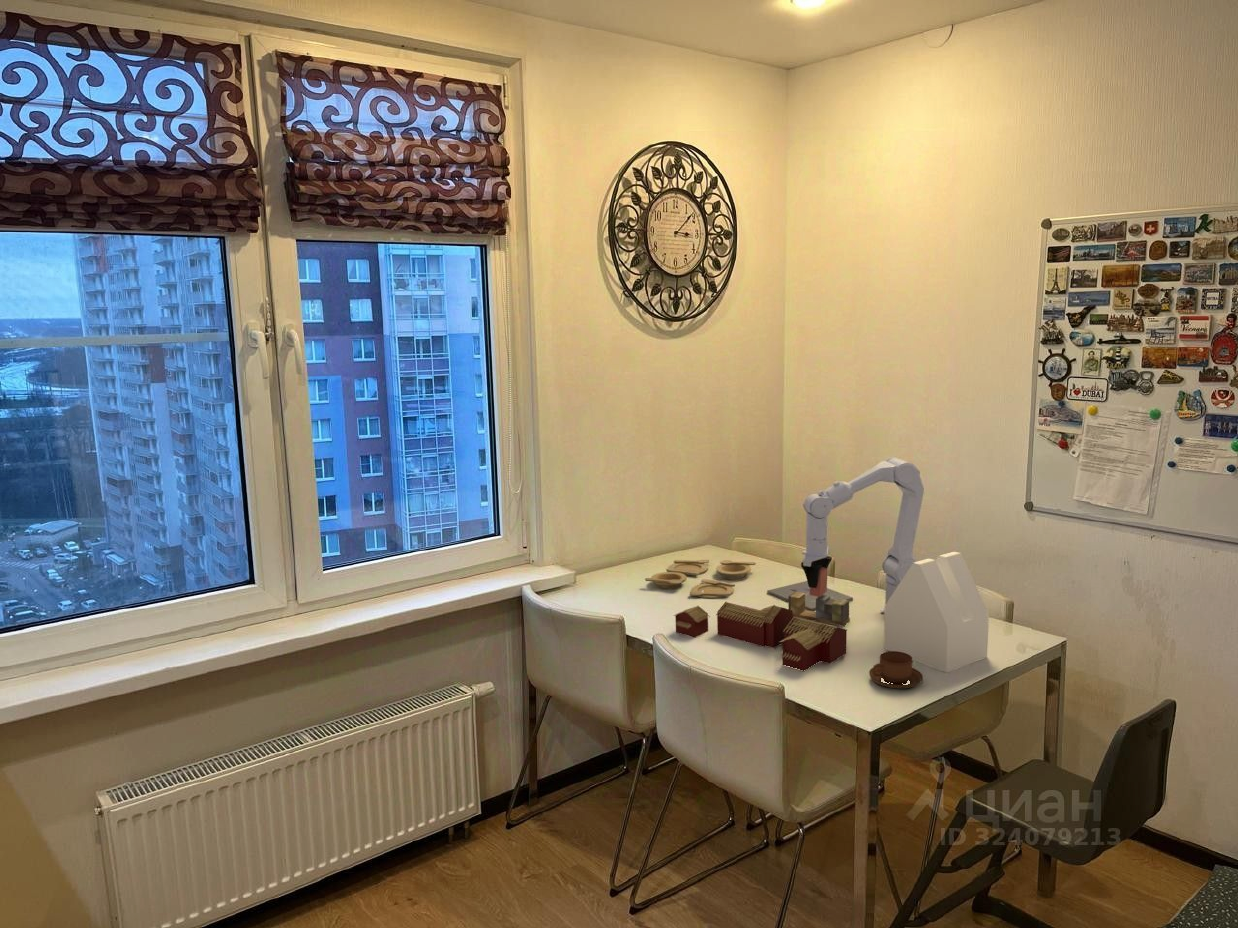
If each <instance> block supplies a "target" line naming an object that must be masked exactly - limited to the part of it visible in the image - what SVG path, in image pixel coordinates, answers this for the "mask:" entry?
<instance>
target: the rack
mask: <svg viewBox="0 0 1238 928" xmlns="http://www.w3.org/2000/svg"><path fill="white" fill-rule="evenodd" d="M787 604H788V606H787V607H788V608H787V609H789V610H792V611H794V612H793V616H794V617H798V618H802V619H807V620H811V621H815V622H819V623H823V624H828V625H830V624H831V625H836V626H842V627H845V626H846V625H847V624H848V623H849V622H850V621H851V617H850V602H849V600H844V599H837V600H833V599H830V596H829V595H822V596H821V597H818V598H816V611H808V610H806V609H805V593H800V592H794V593H792V594H791V595H789V596H788V602H787Z"/></svg>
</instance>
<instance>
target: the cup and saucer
mask: <svg viewBox="0 0 1238 928" xmlns="http://www.w3.org/2000/svg"><path fill="white" fill-rule="evenodd" d="M868 674H869V677H870V678H871V679H872V680H873V681H874V682H875V683H876V684H879V685H880V686H883V687H887V688H890V689H891V688H893V689H908V688H909V689H910V688H912V687H916V686H917V685H919V684H920V683H922V681H923V678H924V677H923V674H922V673H921V671H919V670H918V669H916V668H914V667H913V659H912V657H911V656H910V655H909V654H906V653H903V652H898V651H890V650H888V651H883V652H881V654H880V655H879V663H878V662H877V663H875V664H874V665H873V666H872V667H871V668H870V669H869V671H868ZM881 678H883V679H884V681H885V682H887V683H889V682H890V683H889V684H887V683H883V682H881ZM908 680H909V681H910V684H908V685H903V684H906V683H907V681H908ZM891 683H893V684H891ZM902 683H903V684H902Z"/></svg>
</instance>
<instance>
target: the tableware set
mask: <svg viewBox="0 0 1238 928" xmlns="http://www.w3.org/2000/svg"><path fill="white" fill-rule="evenodd" d="M709 563H710V559H698V560H684V559H683V560H682V559H674V560H673V563H672V564H669V565H668V567H667V568H665V569H666V571H663V572H659V573H655V574H653V575H652V576H651V577H646V578H645V579H644V580H645V581H646V582H652V583H653V584H655V585H657V586H658V587H659V588H662V589H676V588H678V587H679V586H681V584H683V583H684V582H686V581H687V576H699V575H701V574H703V573H706V572H707V571H708V570H709V567H708V565H707V564H709ZM756 564H757V563H756V561H734V560H733V561H732V560H721V561H719V565H717V566H716V568H715V571H716V572H717V573H719V574H721V575H722V576H723V578H725V579H727V580H741V579H743V578H744V577H745V576H746V574H748V573H749V572H751V571H752V567H751V566H756ZM735 586H736V584H735V583H733V582H732V583H731V582H726V581H720V580H715V579H705V578H702V579H701V583H700V584H697V585H694V586H693V587H691V589H690V591H689V596H692V597H699V598H703V599H704V598H705V599H720V598H725V597H729V596H731V595H732V594H734V588H735Z"/></svg>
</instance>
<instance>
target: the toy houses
mask: <svg viewBox="0 0 1238 928" xmlns="http://www.w3.org/2000/svg"><path fill="white" fill-rule="evenodd" d="M793 612H794V611H792V610H789V609H788V608H786V607H782V606H778V605H775V604H773V605H771V606H768V607H765V608H761V609H757V608H754V607H753V608H752V607H748V606H745V605H744V606H743V605H741V604H736V603H733V602H728V601H725V602H724V603H723V604H722V605H721V606H720V607H719V609H718V610H717V612H716V614H715V616H716V617H717V619H716V620H717V621H716V624H717V625H716V626H717V627H716V628H717V635H720V636H721V637H722V636H723V637H726V638H730V639H734V640H737V641H741V642H743V643H747V644H752V645H756V646H758V647H762V648H765V647H766V648H772V649H775V648H777V647H779V646H781V645H782V654H781V657H782V666H783V665H786V666H790V667H793V668H797V669H800V670H803V671H802V672H805V671H804V670H806V669H807V670H808V668H809V667H810V668H812V667H814V666H815V665H816V663H817V664H818V662H819V663H820V662H821V661H822V662H821V663H826V664H832V663H833V662H835V661H836V660H839V659H840V658H841V657H842V658H843V656H845V655H846V654H847V647H848V646H847V639H848V638H847V637H848V636H847V635H848V634H847V631H848V629H846V628H842V627H839V626H834V625H832V624H831V625H830V624H828V623H823V622H818V621H812V620H807V619H802V618H798V617H794V616H793ZM672 616H673V617H674V616H675V633H677V634H681V635H684V636H688V637H690V638H697V637H699V636H701V635H703V634H705V633H707V632H709V618H710V617H711V615H709V613H708V612H707V611H706V610H705V609H703V608H702V607H700V606H699V605H697V606H696V605H695V606H693V607H689V608H687V609H685V610H682V611H680V612H678V613H675V614H673V615H672ZM814 664H815V665H814ZM813 665H814V666H813ZM786 666H785V667H786ZM811 666H812V667H811ZM790 667H789V668H790ZM793 668H792V669H793ZM810 668H809V669H810ZM797 669H796V670H797ZM800 670H799V671H800ZM807 670H806V671H807Z"/></svg>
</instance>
